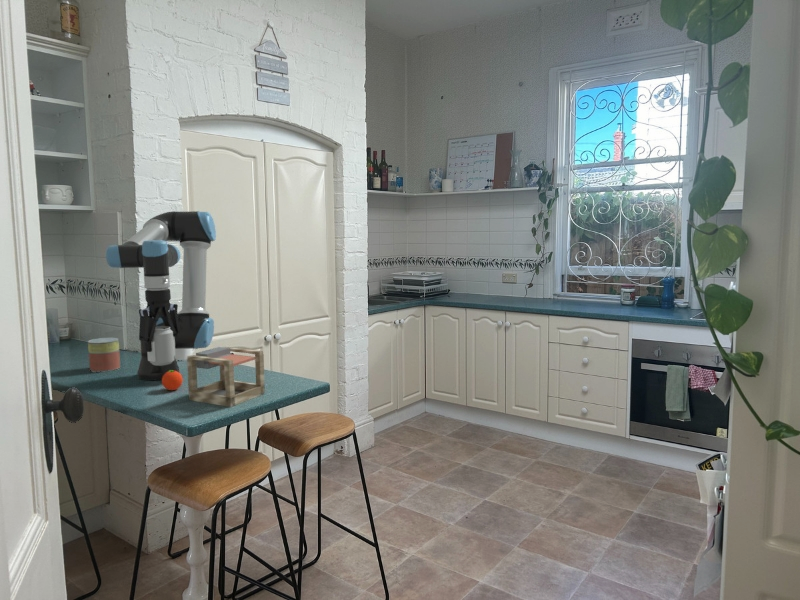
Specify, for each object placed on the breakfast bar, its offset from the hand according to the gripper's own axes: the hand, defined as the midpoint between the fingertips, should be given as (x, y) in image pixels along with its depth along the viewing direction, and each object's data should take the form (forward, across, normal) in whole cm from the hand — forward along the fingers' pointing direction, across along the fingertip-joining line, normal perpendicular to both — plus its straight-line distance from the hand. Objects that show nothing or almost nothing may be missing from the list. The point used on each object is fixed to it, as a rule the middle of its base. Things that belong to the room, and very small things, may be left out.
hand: (161, 358), depth 192 cm
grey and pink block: (+4, +14, -14) cm, 20 cm away
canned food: (+16, +23, +58) cm, 64 cm away
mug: (+17, +51, +44) cm, 69 cm away
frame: (+15, +14, -14) cm, 25 cm away
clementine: (+16, +12, +10) cm, 22 cm away
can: (+2, 0, 0) cm, 2 cm away
